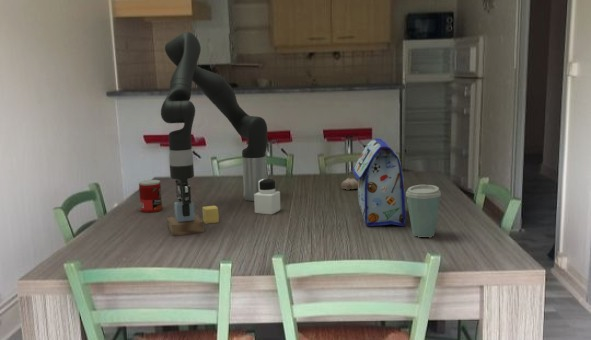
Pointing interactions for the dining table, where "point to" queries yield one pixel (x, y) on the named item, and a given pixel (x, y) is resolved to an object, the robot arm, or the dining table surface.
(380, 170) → the lunch bag
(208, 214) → the ochre block
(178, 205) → the slate cube
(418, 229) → the disposable coffee cup
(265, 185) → the medicine bottle
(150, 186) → the canned food
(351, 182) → the garlic bulb
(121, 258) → the dining table surface
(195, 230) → the walnut base
